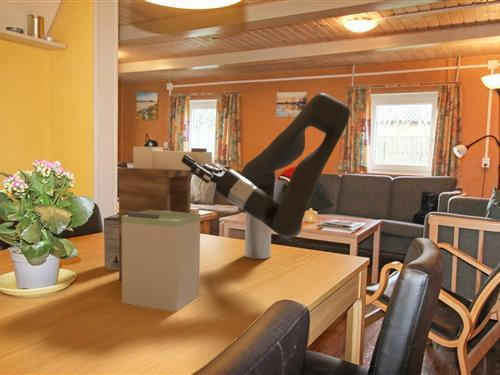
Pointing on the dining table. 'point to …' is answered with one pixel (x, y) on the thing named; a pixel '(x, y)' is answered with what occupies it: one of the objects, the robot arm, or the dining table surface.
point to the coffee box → (111, 242)
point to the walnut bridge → (152, 193)
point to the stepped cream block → (168, 158)
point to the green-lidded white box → (160, 259)
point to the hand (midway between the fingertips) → (190, 157)
